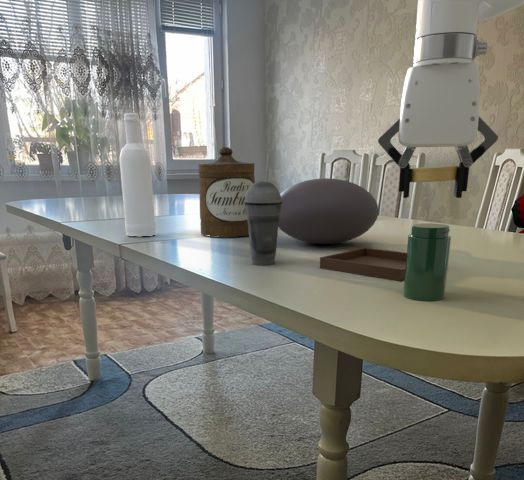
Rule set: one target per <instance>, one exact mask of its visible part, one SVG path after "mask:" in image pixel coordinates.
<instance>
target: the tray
mask: <svg viewBox="0 0 524 480" xmlns="http://www.w3.org/2000/svg"><path fill="white" fill-rule="evenodd" d="M406 257H407V252H404V251H398V250H396V251H395V250H388V249H380V248H371V247H364V246H363V247H361V248H355V249H352V250H346V251H342V252H338V253H334V254H330V255H326V256H321V257H319V269H325V270H331V271H335V272H342V273H348V274H353V275H360V276H367V277H373V278H377V279H378V278H379V279H386V280H391V281H397V282H403V281H405V269H406Z"/></svg>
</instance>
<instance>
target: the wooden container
mask: <svg viewBox="0 0 524 480" xmlns="http://www.w3.org/2000/svg"><path fill="white" fill-rule="evenodd" d="M218 153H219V155H220V156H219V157H218V159H217V160H215V161H212V162H203V163H198V165H197V167H198V168H197V169H198V182H199V183H198V184H199V185H198V186H199V219H200V234H201V235H202V234H203V235H210V236H219V237H235V238H237V237H236V236H245V237H248V236H247V235H249V231H248V221H247V214H246V210H245V204H244V202H245V195H246V192H247V190H248V189H249V187H250V186H251V185H252V184H254V183H256V178H255V177H256V176H255V162H245V161H244V162H243V161H238V160H236V159H235V158H234V157H233V153H234V152H233V148H230V147H227V146H223V147H222V148H220V149H219V151H218ZM203 235H202V236H203Z"/></svg>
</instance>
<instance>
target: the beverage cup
mask: <svg viewBox="0 0 524 480" xmlns="http://www.w3.org/2000/svg"><path fill="white" fill-rule="evenodd" d="M270 159H271V156H270V155H267V158H266V166H265V174H264V175H265V176H264V177H265V179H264V181H255V183H254V184H252V185H251V186H250V187H249V189H248V190H247V192H246V195H245V202H244V204H245V210H246V214H247V221H248V231H249V236H248V240H249V241H248V242H249V250H250V251H249V252H250V257H251V264H252V265H256V266H271V265H274V264H276V263H275V260H276V256H277V255H276V254H277V244H278V243H277V242H278V231H279V227H278V222H279V214H280V210H281V204H282V202H281V196H280V194H281V192H280V191H279V189H278V188H277V186H275V184H273V183H272V182H271V181H268V179H269V169H270V161H271V160H270Z"/></svg>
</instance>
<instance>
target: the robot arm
mask: <svg viewBox="0 0 524 480" xmlns="http://www.w3.org/2000/svg"><path fill="white" fill-rule="evenodd" d="M521 6H524V0H417V10H416V22H415V23H416V25H415V36H414V37H415V38H414V52H413V53H414V54H413V66H410V67H408V68H407V70H406V73H405V78H404V83H403V88H402V95H401V101H400V102H401V103H400V109H399V110H400V111H399V118H398V119H397V120H396V121H395V122H394V123H393V124H391V126H390V127H389V128H388V129H387V130H385V132H384V133H383V134H382V135H380V136H379V137H378V139H377V143H378V144H379V145H380V147H381V148H382V149H383V150H384V151H385V153H386V154H387V155H388V156H389V157H390V158H391V159H392V160H393V161H394V163H395V164H396V165H397V166H398V167H399V179H398V192H402V197H403V199H408V198H409V196H410V186H411V182H410V175H411V168H410V161H411V159H412V156H413V155H414V153H415V151H416V148H439V147H440V148H442V147H443V148H444V147H445V148H446V147H448V148H449V147H452V148H453V147H454V149H455V151H456V154H457V158H458V160H459V162H458V170H457V180H454V188H453V197H455V198H457V199H462V196H463V192H467V191H468V184H469V173H470V167H472V166H473V164H475V162H477V161H478V160H479V159H480V158H481V157H482V156H484V154H485V153H486V152H487V151H489V149H490V148H491V147H492V146H493V145H495V143H497V141H498V140H499V135H498V134H497V133H496V132H495V131H494V130H493V129H492V128H491V127H490V126H489V125H488V124H487V122H485V120H483V119H482V117H481V116H480V94H481V93H480V92H481V90H480V89H481V88H480V85H481V84H480V69H479V64H478V63H475V62H474V60H475V59H476V58H477V57H480V55H481V56H482V55H486V54H487V51H488V42H482V41H479V39H478V36H477V32H478V23H479V22H487V21H490V20H492V19H496V18H497V17H499V16H501V15H503V14H505V13H507V12H511V11H513V10H515V9H517V8H520V7H521ZM397 134H398V136H397V137H398V143H399V144H400V145H402V146H404V147H405V148H404V150H403V152H402V153H401V152H399V150H398V149H397V148H396V147H395V146H394V144H392V142H391V140H392V139H393V138H394V136H396V135H397ZM478 134H479V135H480V136H481V137H482V141H481V142H479V144H478V145H477V146H476V147H475V148H473V149H472V150H471V151H470V150H469V146H468V145H471V144H473V143H474V142H475V141H476V139H477V136H478Z"/></svg>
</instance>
